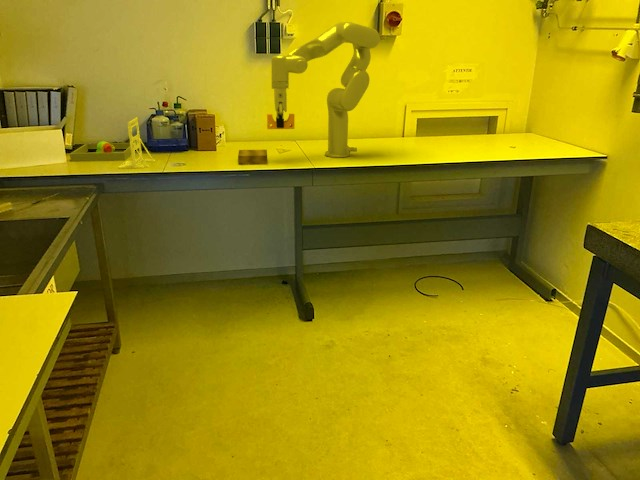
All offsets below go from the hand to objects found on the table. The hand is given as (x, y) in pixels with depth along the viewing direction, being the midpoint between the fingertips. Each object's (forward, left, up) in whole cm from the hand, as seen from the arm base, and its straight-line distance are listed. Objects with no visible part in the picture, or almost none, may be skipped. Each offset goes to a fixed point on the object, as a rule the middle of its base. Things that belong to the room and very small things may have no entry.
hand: (279, 126), depth 235 cm
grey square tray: (+84, -18, -16) cm, 87 cm away
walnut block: (+13, 0, -16) cm, 20 cm away
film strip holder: (+65, +3, -16) cm, 67 cm away
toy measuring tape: (+86, -16, -16) cm, 89 cm away
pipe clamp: (0, 0, -1) cm, 1 cm away
